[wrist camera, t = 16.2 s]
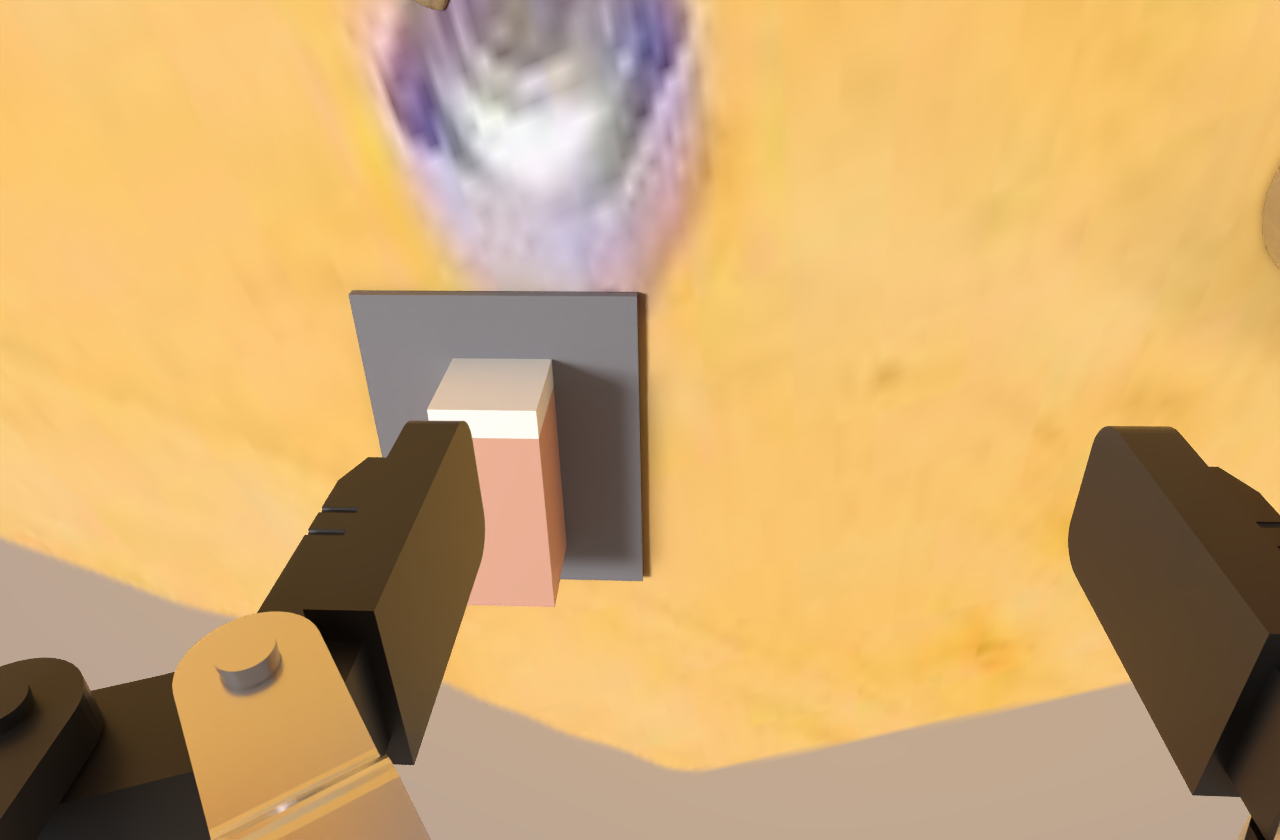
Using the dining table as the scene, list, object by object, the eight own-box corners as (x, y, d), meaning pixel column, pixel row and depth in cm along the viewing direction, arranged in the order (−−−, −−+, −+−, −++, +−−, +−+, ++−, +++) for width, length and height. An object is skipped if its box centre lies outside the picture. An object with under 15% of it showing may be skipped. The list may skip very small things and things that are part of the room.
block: (460, 604, 46) (426, 409, 40) (479, 543, 50) (452, 358, 44) (554, 607, 46) (536, 410, 39) (566, 545, 50) (551, 359, 44)
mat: (637, 292, 42) (636, 296, 42) (643, 575, 52) (642, 581, 51) (352, 290, 43) (348, 294, 42) (409, 569, 52) (406, 575, 52)
